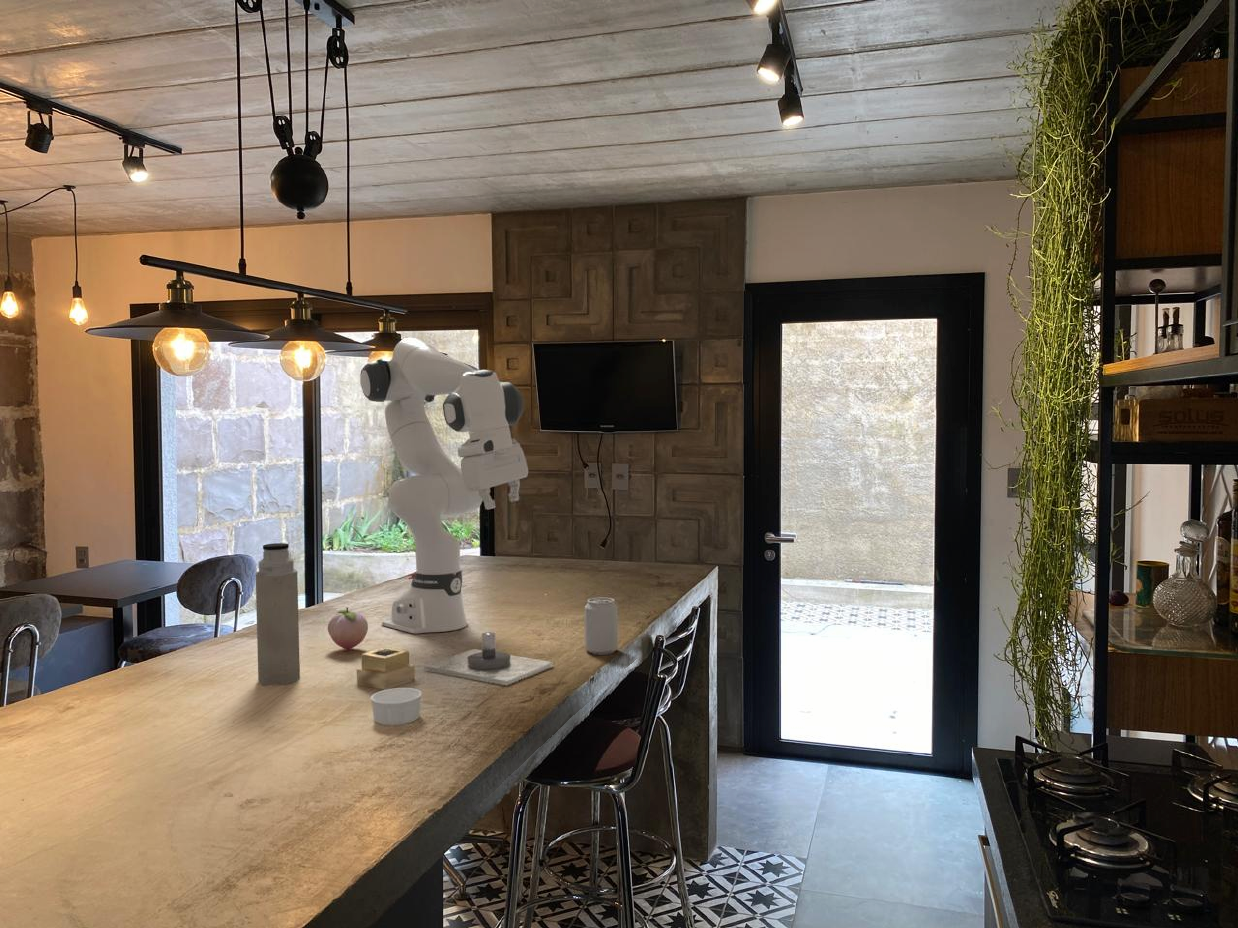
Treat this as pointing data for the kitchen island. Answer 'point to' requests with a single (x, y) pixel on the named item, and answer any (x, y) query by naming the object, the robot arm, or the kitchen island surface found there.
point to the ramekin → (396, 706)
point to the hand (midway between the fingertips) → (502, 504)
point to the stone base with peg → (489, 664)
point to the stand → (385, 676)
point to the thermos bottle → (277, 617)
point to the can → (601, 626)
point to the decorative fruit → (347, 629)
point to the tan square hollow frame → (385, 660)
